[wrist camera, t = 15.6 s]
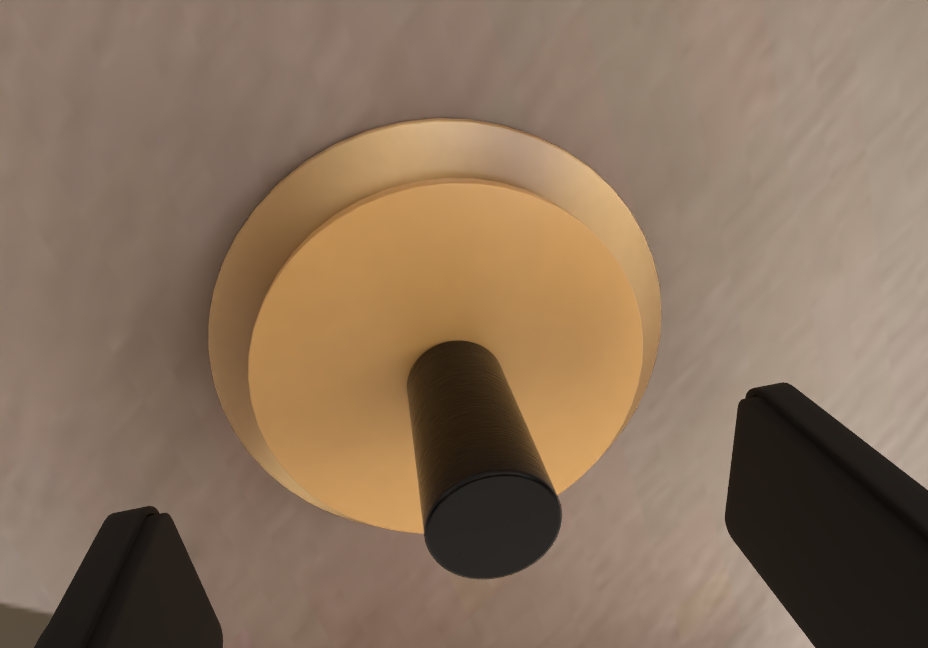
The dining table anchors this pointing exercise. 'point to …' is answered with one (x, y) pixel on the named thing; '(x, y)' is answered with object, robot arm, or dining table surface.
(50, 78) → the dining table surface
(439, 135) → the coaster
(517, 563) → the shaker lid
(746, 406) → the robot arm
